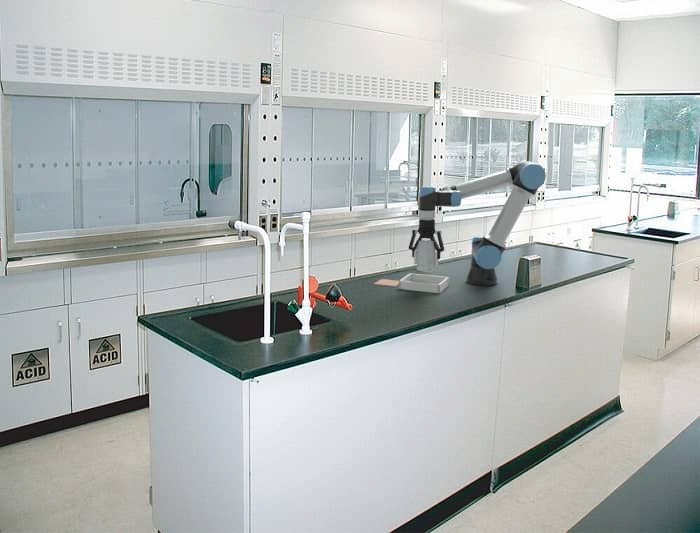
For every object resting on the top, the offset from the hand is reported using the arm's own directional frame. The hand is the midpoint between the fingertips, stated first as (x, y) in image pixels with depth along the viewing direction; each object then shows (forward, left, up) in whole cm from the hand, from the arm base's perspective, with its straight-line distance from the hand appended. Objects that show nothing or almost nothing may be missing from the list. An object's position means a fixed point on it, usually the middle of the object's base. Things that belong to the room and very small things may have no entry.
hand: (426, 264), depth 333 cm
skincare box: (0, 0, -3) cm, 3 cm away
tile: (+18, +1, -11) cm, 21 cm away
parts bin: (0, 0, -11) cm, 11 cm away
